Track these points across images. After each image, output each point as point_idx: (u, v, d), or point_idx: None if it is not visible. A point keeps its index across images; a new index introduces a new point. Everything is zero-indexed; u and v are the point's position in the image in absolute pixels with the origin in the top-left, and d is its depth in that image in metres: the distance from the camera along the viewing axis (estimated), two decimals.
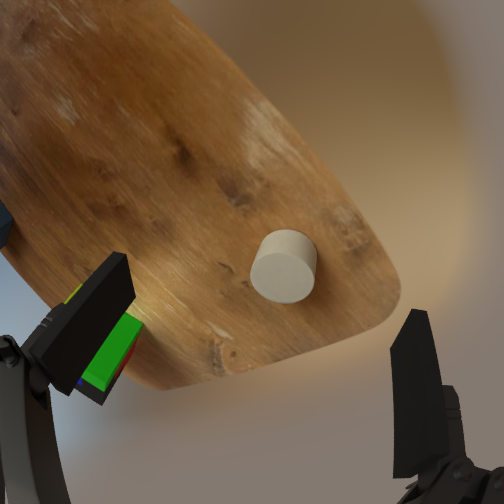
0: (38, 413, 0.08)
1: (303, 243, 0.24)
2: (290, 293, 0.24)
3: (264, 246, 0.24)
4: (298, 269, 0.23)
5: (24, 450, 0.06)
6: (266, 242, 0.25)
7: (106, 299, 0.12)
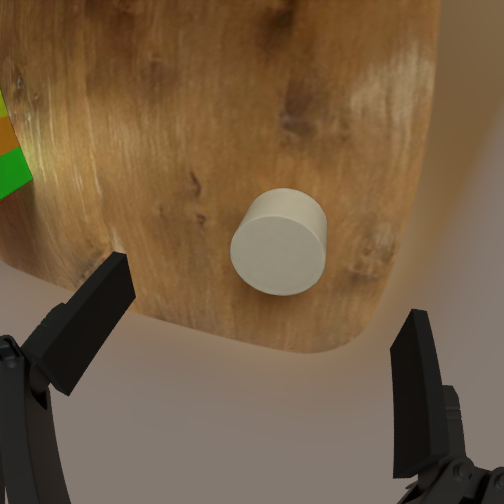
0: (38, 413, 0.08)
1: (326, 232, 0.17)
2: (269, 280, 0.17)
3: (284, 202, 0.16)
4: (309, 263, 0.16)
5: (24, 450, 0.06)
6: (286, 198, 0.16)
7: (106, 299, 0.12)
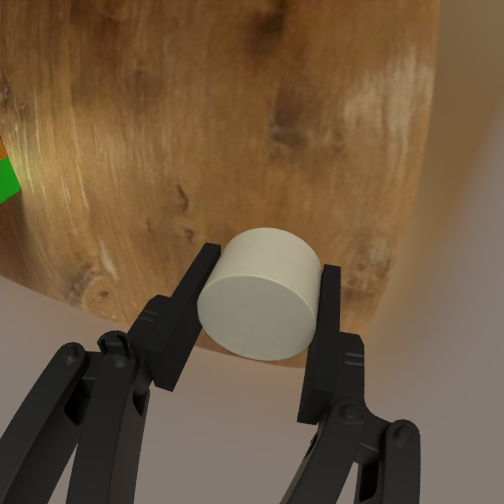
0: (133, 421, 0.08)
1: (319, 286, 0.13)
2: (246, 344, 0.13)
3: (264, 251, 0.12)
4: (295, 329, 0.12)
5: (106, 462, 0.06)
6: (268, 245, 0.13)
7: None
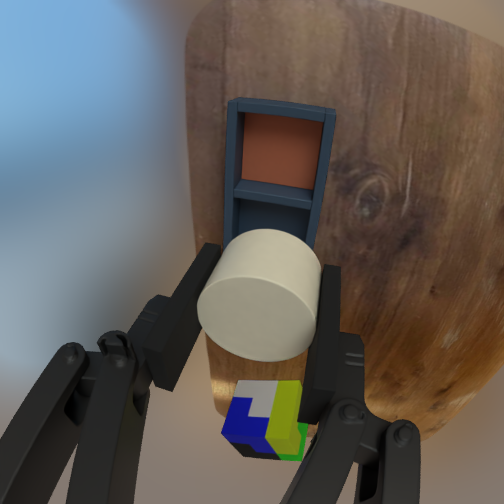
0: (133, 421, 0.08)
1: (319, 287, 0.13)
2: (246, 345, 0.13)
3: (264, 253, 0.12)
4: (295, 331, 0.12)
5: (106, 462, 0.06)
6: (268, 246, 0.13)
7: None
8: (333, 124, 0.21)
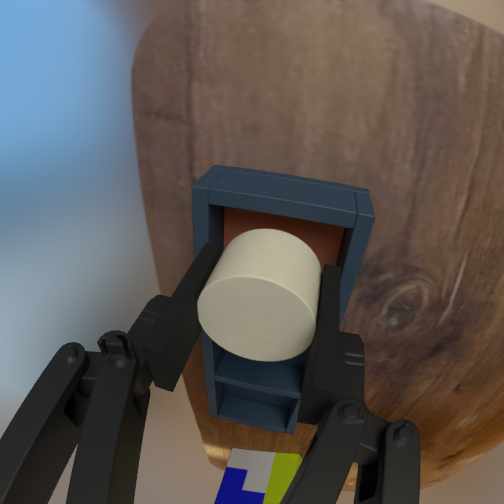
0: (133, 421, 0.08)
1: (319, 287, 0.13)
2: (246, 345, 0.13)
3: (264, 253, 0.12)
4: (295, 331, 0.12)
5: (107, 462, 0.06)
6: (268, 246, 0.13)
7: None
8: (368, 232, 0.13)
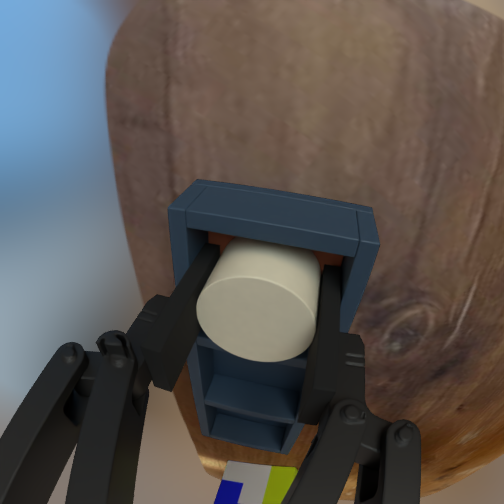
0: (132, 421, 0.08)
1: (318, 287, 0.13)
2: (246, 345, 0.13)
3: (263, 253, 0.12)
4: (295, 331, 0.12)
5: (106, 462, 0.06)
6: (268, 246, 0.13)
7: None
8: (372, 261, 0.11)
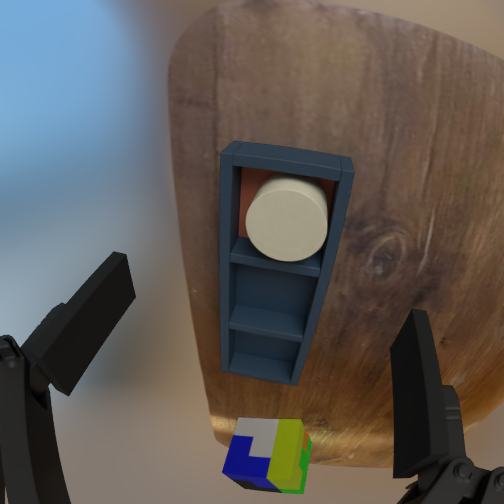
0: (38, 413, 0.08)
1: None
2: (279, 247, 0.20)
3: (291, 180, 0.18)
4: (313, 230, 0.18)
5: (24, 450, 0.06)
6: (293, 177, 0.19)
7: (106, 299, 0.12)
8: (350, 184, 0.17)
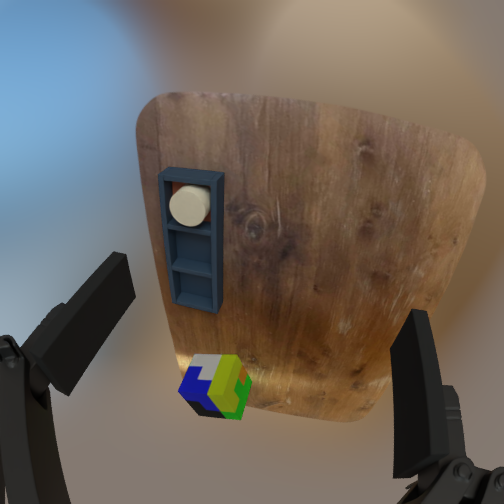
0: (38, 413, 0.08)
1: (209, 198, 0.39)
2: (185, 218, 0.39)
3: (190, 186, 0.38)
4: (199, 210, 0.38)
5: (24, 450, 0.06)
6: (192, 184, 0.39)
7: (106, 299, 0.12)
8: (215, 186, 0.37)
